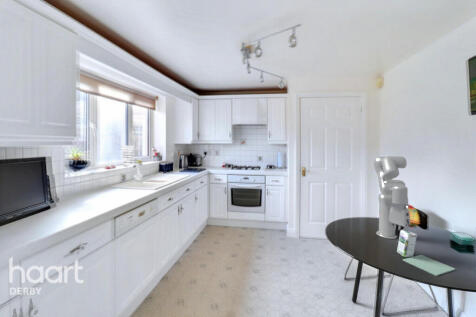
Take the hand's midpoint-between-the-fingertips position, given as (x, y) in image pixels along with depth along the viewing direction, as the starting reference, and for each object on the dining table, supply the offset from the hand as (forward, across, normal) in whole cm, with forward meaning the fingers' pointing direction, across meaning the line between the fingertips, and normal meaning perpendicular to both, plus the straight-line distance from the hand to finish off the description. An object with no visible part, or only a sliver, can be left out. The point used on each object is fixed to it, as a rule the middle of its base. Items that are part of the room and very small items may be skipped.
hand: (398, 235), depth 133 cm
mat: (+11, -16, 0) cm, 19 cm away
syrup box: (+10, -4, 0) cm, 11 cm away
